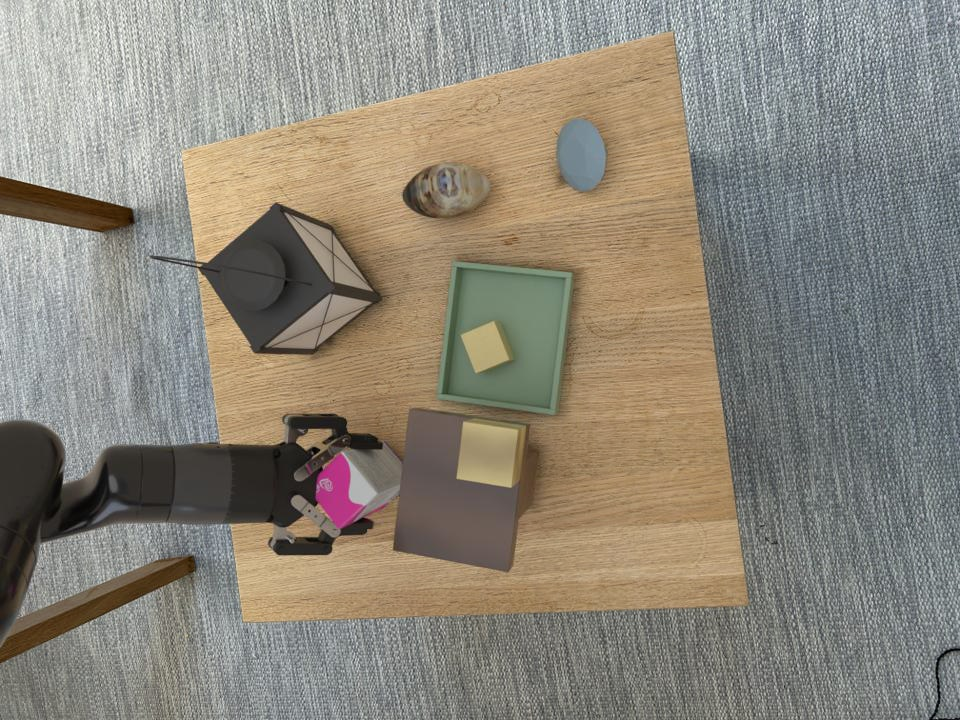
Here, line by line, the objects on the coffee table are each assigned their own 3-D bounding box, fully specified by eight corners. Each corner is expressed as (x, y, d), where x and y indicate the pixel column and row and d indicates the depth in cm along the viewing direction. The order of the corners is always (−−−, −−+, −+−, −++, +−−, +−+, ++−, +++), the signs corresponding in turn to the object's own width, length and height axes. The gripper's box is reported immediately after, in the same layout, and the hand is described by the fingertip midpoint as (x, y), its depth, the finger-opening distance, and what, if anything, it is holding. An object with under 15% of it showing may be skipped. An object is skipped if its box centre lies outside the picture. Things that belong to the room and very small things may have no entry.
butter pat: (493, 320, 82) (500, 322, 85) (460, 334, 83) (468, 336, 86) (509, 359, 81) (515, 359, 85) (475, 373, 82) (482, 373, 86)
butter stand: (549, 516, 84) (499, 584, 59) (462, 501, 87) (377, 561, 61) (562, 408, 84) (518, 429, 58) (474, 396, 86) (394, 411, 61)
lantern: (384, 299, 89) (261, 269, 62) (311, 356, 91) (162, 352, 64) (331, 223, 91) (189, 162, 63) (261, 281, 93) (94, 246, 65)
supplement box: (383, 437, 87) (343, 449, 76) (417, 477, 86) (381, 495, 75) (348, 471, 88) (303, 487, 77) (381, 510, 87) (340, 533, 76)
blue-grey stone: (620, 101, 80) (584, 107, 77) (641, 172, 80) (607, 180, 77) (574, 128, 86) (540, 134, 83) (595, 194, 87) (561, 202, 84)
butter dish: (558, 413, 84) (554, 415, 81) (443, 397, 87) (435, 398, 84) (575, 275, 84) (572, 272, 81) (459, 264, 87) (452, 260, 84)
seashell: (492, 165, 86) (475, 145, 78) (499, 215, 86) (482, 201, 78) (412, 181, 88) (388, 163, 80) (418, 230, 88) (395, 217, 80)
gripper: (218, 570, 69) (382, 561, 78) (236, 414, 69) (398, 422, 78) (200, 546, 76) (354, 540, 84) (216, 403, 75) (369, 411, 84)
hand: (375, 483), depth 81 cm, fingers closed on supplement box, 8 cm apart
